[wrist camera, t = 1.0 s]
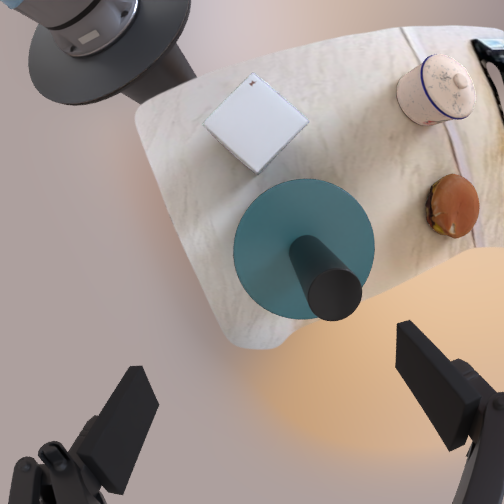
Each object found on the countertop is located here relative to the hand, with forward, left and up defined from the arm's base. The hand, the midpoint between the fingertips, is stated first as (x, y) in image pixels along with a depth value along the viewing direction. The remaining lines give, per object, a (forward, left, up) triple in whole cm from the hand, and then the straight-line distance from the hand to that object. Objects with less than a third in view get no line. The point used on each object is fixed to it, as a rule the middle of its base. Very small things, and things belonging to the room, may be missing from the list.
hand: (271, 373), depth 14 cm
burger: (+6, +29, -28) cm, 41 cm away
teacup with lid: (-11, +33, -28) cm, 45 cm away
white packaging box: (-14, +6, -28) cm, 32 cm away
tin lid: (0, +5, -18) cm, 18 cm away
